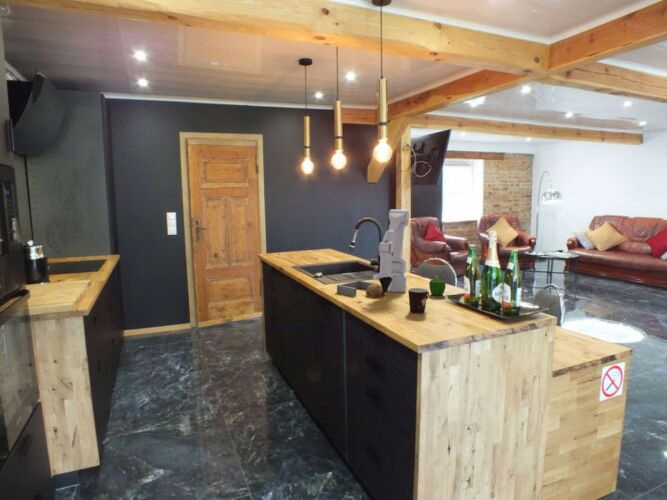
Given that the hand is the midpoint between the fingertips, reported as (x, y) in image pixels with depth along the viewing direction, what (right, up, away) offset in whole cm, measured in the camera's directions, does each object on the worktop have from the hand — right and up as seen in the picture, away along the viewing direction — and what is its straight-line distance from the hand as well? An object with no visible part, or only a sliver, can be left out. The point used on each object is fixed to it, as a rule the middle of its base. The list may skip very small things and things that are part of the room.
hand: (385, 291), depth 217 cm
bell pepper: (+28, -3, +7) cm, 29 cm away
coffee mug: (+13, -7, -25) cm, 29 cm away
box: (-13, -1, +12) cm, 18 cm away
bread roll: (-4, -3, +5) cm, 7 cm away
